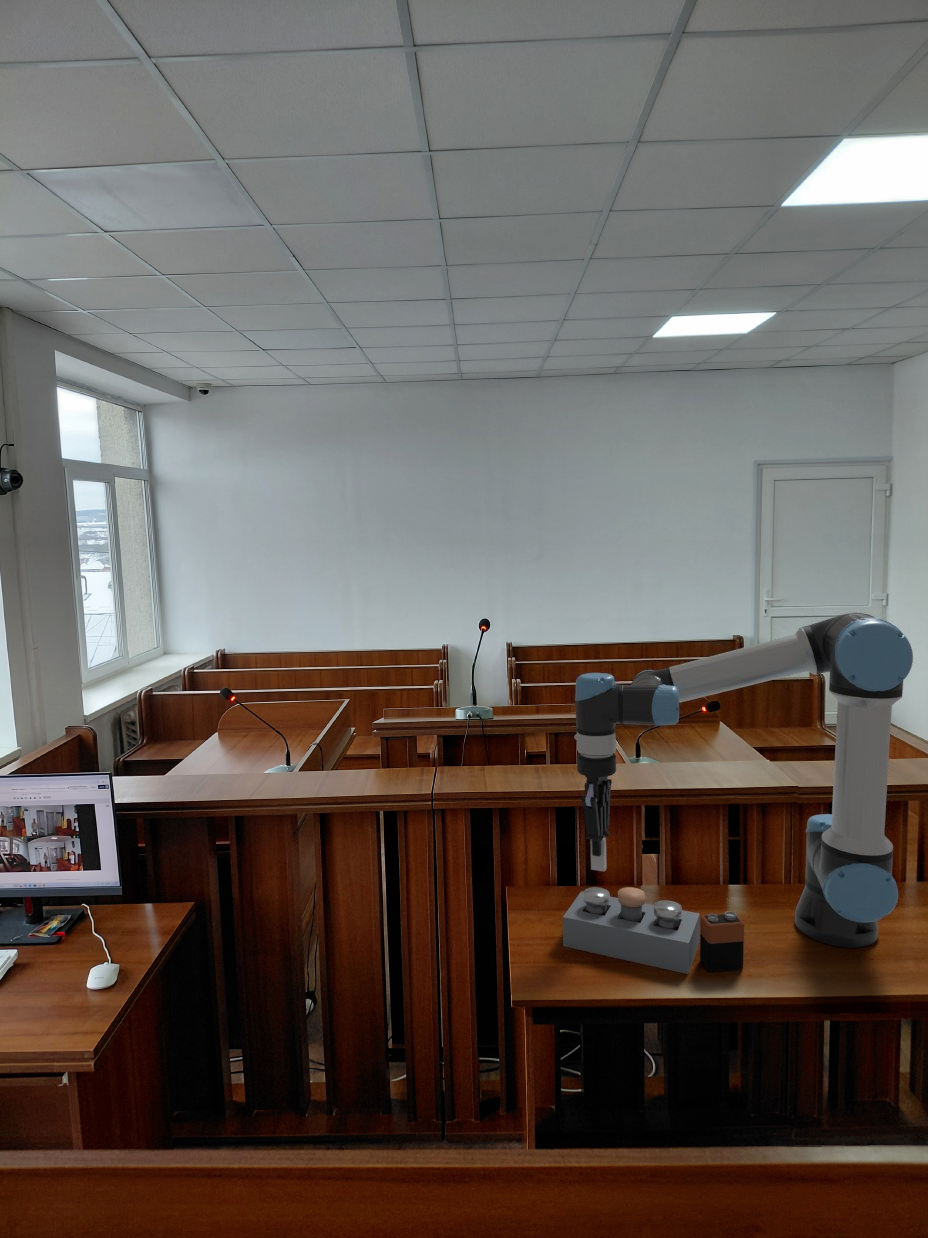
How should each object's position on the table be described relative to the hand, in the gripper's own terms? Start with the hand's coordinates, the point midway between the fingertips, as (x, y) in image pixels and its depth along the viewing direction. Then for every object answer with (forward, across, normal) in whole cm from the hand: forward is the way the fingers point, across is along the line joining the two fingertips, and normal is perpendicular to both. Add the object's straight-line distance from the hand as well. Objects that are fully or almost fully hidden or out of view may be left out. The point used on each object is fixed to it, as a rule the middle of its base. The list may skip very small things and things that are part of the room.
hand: (598, 869), depth 154 cm
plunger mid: (+10, 0, +6) cm, 12 cm away
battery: (+15, +1, +23) cm, 28 cm away
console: (+14, 0, +6) cm, 16 cm away
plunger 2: (+12, 0, +13) cm, 18 cm away
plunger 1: (+12, 0, -1) cm, 12 cm away
